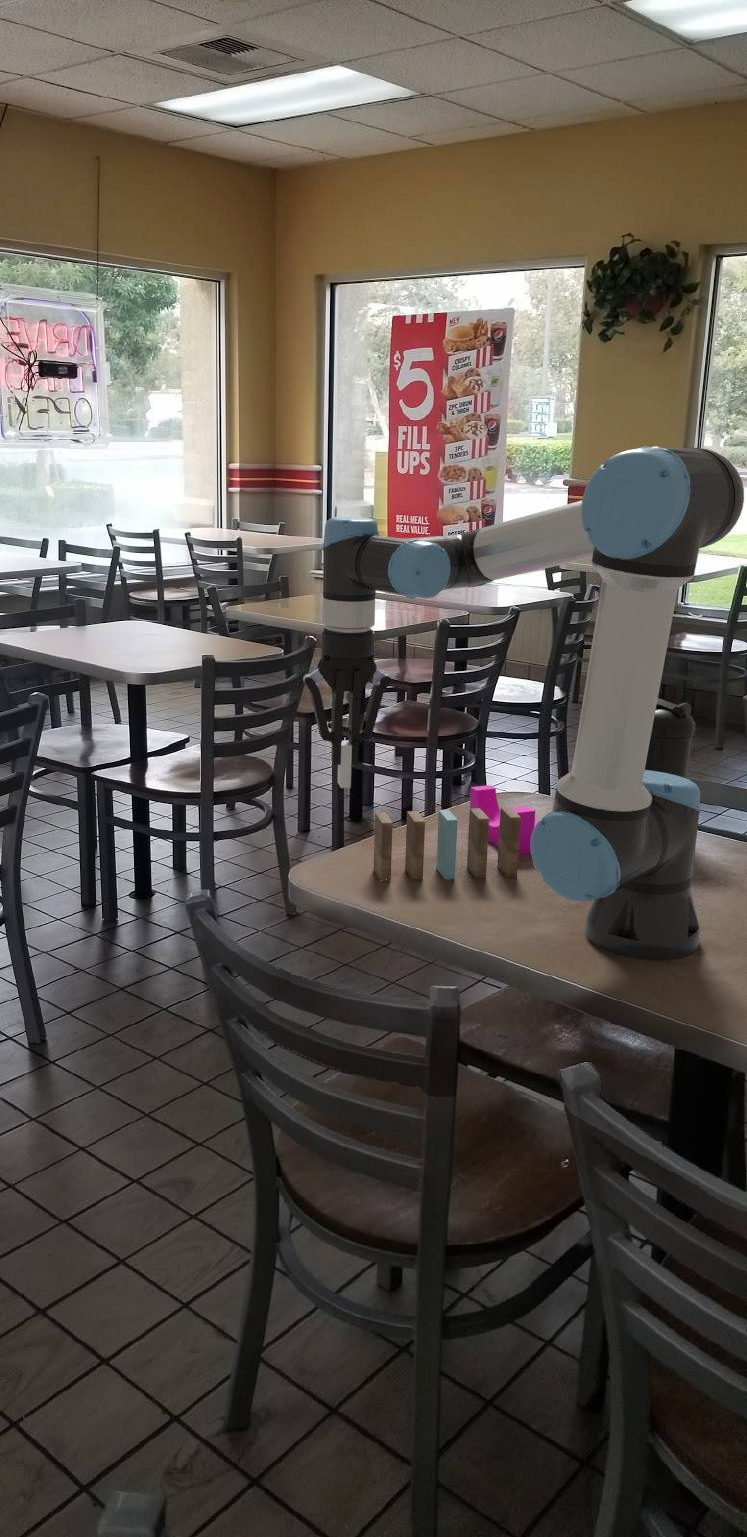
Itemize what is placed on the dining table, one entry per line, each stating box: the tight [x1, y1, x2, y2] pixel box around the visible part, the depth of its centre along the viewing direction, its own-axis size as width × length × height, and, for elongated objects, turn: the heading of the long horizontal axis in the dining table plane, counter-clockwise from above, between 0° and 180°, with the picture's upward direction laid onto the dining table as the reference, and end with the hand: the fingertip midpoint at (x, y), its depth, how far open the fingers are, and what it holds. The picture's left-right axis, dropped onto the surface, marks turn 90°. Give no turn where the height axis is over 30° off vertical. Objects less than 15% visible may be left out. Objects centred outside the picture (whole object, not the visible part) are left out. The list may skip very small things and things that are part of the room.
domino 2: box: [404, 810, 426, 881], centre depth 184 cm, size 2×5×10 cm, turn 12°
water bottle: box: [645, 697, 696, 779], centre depth 206 cm, size 10×10×23 cm
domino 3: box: [435, 809, 459, 880], centre depth 185 cm, size 2×5×10 cm, turn 12°
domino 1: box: [373, 811, 394, 881], centre depth 183 cm, size 2×5×10 cm, turn 12°
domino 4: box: [466, 808, 489, 879], centre depth 186 cm, size 2×5×10 cm, turn 12°
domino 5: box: [496, 806, 521, 878], centre depth 187 cm, size 2×5×10 cm, turn 12°
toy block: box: [469, 784, 540, 856], centre depth 202 cm, size 15×6×8 cm, turn 24°
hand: (344, 785), depth 179 cm, fingers closed
